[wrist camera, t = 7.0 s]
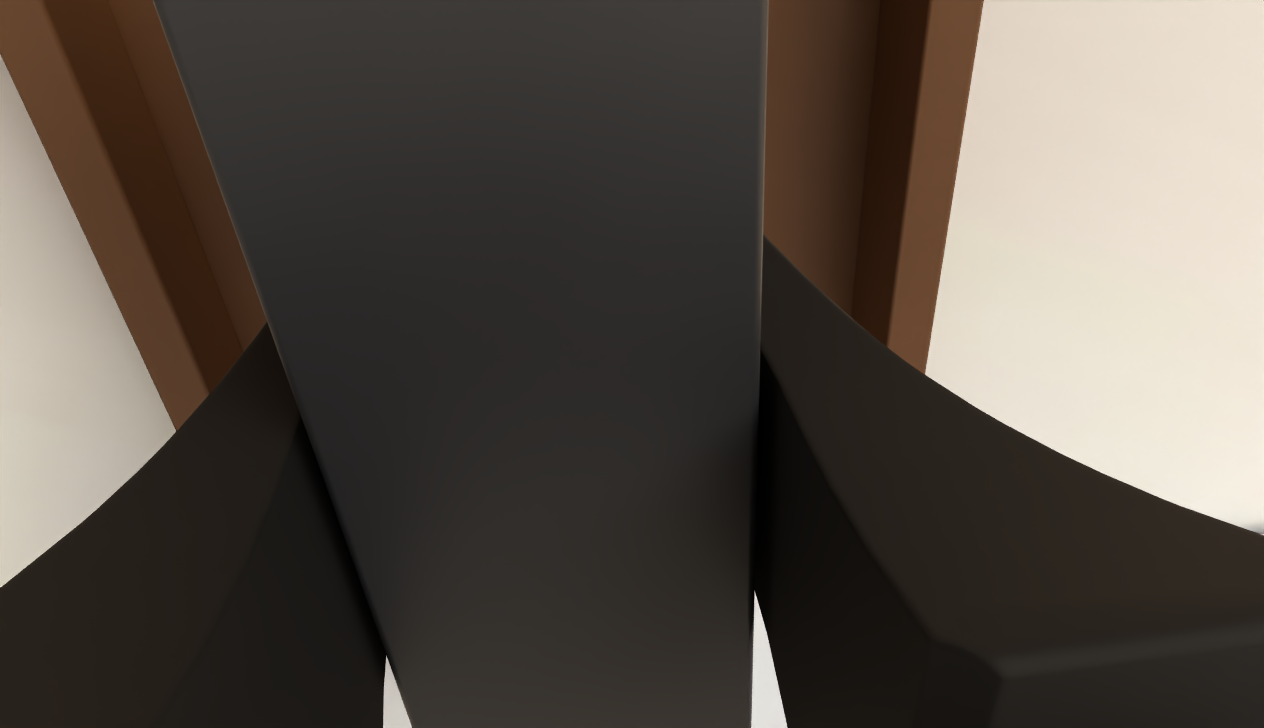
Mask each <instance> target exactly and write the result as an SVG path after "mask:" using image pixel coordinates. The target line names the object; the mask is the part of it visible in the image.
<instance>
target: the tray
mask: <svg viewBox="0 0 1264 728" xmlns="http://www.w3.org/2000/svg"><path fill="white" fill-rule="evenodd" d="M983 1H984V0H769V13H768V54H767V95H766V137H765V178H764V219H763V234H764V235H765V236H766V237H767V238H768V239H769V240H770V241H771V242H772V243H773V244H774V245H775V246H776V247H777V248H778V249H779V250H780V251H781V252H782V253H783V254H784V255H785V256H786V257H787V258H788V259H789V260H790V261H791V262H792V263H793V264H794V265H795V266H796V267H797V268H798V269H799V270H800V271H801V272H802V273H803V274H804V275H805V276H806V277H807V278H808V279H809V280H810V281H811V282H812V283H813V284H814V285H816V286H817V287H818V288H819V289H820V290H821V291H822V292H823V293H824V294H825V295H826V296H828V297H829V298H830V299H831V300H832V301H833V302H834V303H835V304H837V305H838V306H839V307H840V308H841V309H842V310H843V311H844V312H845V313H847V314H848V315H849V316H850V317H851V318H852V319H853V320H855V321H856V322H857V323H858V324H859V325H861V326H862V327H863V328H864V329H865V330H866V331H868V332H869V333H870V334H871V335H872V336H874V337H875V338H876V339H878V340H879V341H880V342H881V343H883V344H884V345H885V346H886V347H888V348H889V349H890V350H892V351H893V352H894V353H895V354H897V355H898V356H899V357H901V358H902V359H903V360H905V361H906V362H907V363H909V364H910V365H912V366H913V367H915V368H916V369H917V370H919V371H920V372H922V373H923V374H925V370H926V364H927V357H928V351H929V345H930V338H931V332H932V326H933V319H934V313H935V306H936V300H937V294H938V287H939V281H940V275H941V268H942V262H943V256H944V249H945V243H946V236H947V230H948V224H949V217H950V211H951V205H952V198H953V192H954V186H955V179H956V173H957V167H958V160H959V154H960V147H961V141H962V135H963V128H964V122H965V116H966V109H967V103H968V97H969V90H970V84H971V77H972V71H973V65H974V58H975V52H976V46H977V39H978V33H979V27H980V20H981V14H982V7H983ZM0 54H1V56H2V58H3V60H4V62H5V65H6V67H7V69H8V71H9V73H10V75H11V77H12V80H13V82H14V84H15V86H16V88H17V90H18V92H19V95H20V97H21V99H22V101H23V103H24V105H25V107H26V110H27V112H28V114H29V116H30V118H31V120H32V122H33V125H34V127H35V129H36V131H37V133H38V135H39V137H40V140H41V142H42V144H43V146H44V148H45V150H46V152H47V155H48V157H49V159H50V161H51V163H52V165H53V168H54V170H55V172H56V174H57V176H58V178H59V180H60V183H61V185H62V187H63V189H64V191H65V193H66V195H67V198H68V200H69V202H70V204H71V206H72V208H73V210H74V213H75V215H76V217H77V219H78V221H79V223H80V225H81V228H82V230H83V232H84V234H85V236H86V238H87V240H88V243H89V245H90V247H91V249H92V251H93V253H94V255H95V258H96V260H97V262H98V264H99V266H100V268H101V270H102V273H103V275H104V277H105V279H106V281H107V283H108V285H109V288H110V290H111V292H112V294H113V296H114V298H115V300H116V303H117V305H118V307H119V309H120V311H121V313H122V315H123V318H124V320H125V322H126V324H127V326H128V328H129V330H130V333H131V335H132V337H133V339H134V341H135V343H136V346H137V348H138V350H139V352H140V354H141V356H142V358H143V361H144V363H145V365H146V367H147V369H148V371H149V373H150V376H151V378H152V380H153V382H154V384H155V386H156V388H157V391H158V393H159V395H160V397H161V399H162V401H163V403H164V406H165V408H166V410H167V412H168V414H169V416H170V418H171V421H172V423H173V425H174V427H175V429H176V431H177V430H178V429H179V428H180V427H181V426H182V425H183V424H184V422H185V421H186V420H187V419H188V418H189V417H190V416H191V414H192V413H193V412H194V411H195V410H196V409H197V408H198V407H199V405H200V404H201V403H202V402H203V401H204V400H205V399H206V397H207V396H208V395H209V394H210V393H211V392H212V391H213V390H214V388H215V387H216V386H217V385H218V383H219V382H220V381H221V380H222V378H223V377H224V376H225V375H226V373H227V372H228V371H229V370H230V368H231V367H232V366H233V365H234V363H235V362H236V361H237V360H238V358H239V357H240V356H241V354H242V353H243V352H244V351H245V349H246V348H247V347H248V346H249V344H250V343H251V342H252V341H253V339H254V338H255V337H256V335H257V334H258V333H259V331H260V330H261V329H262V327H263V326H264V325H265V323H266V322H267V319H266V316H265V313H264V311H263V308H262V305H261V302H260V299H259V297H258V294H257V291H256V288H255V285H254V283H253V280H252V277H251V274H250V271H249V269H248V266H247V263H246V260H245V257H244V255H243V252H242V249H241V246H240V243H239V241H238V238H237V235H236V232H235V229H234V227H233V224H232V221H231V218H230V215H229V213H228V210H227V207H226V204H225V201H224V199H223V196H222V193H221V190H220V187H219V185H218V182H217V179H216V176H215V173H214V171H213V168H212V165H211V162H210V159H209V156H208V154H207V151H206V148H205V145H204V142H203V140H202V137H201V134H200V131H199V128H198V126H197V123H196V120H195V117H194V114H193V112H192V109H191V106H190V103H189V100H188V98H187V95H186V92H185V89H184V86H183V84H182V81H181V78H180V75H179V72H178V70H177V67H176V64H175V61H174V58H173V56H172V53H171V50H170V47H169V44H168V42H167V39H166V36H165V33H164V30H163V28H162V25H161V22H160V19H159V16H158V14H157V11H156V8H155V5H154V2H153V0H0Z"/></svg>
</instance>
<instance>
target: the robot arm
mask: <svg viewBox="0 0 1264 728" xmlns="http://www.w3.org/2000/svg"><path fill="white" fill-rule="evenodd" d="M755 593H756V596H757V599H758V603H759V607H760V610H761V614H762V617H763V621H764V624H765V628H766V631H767V635H768V640H769V644H770V649H771V653H772V658H773V662H774V667H775V672H776V676H777V681H778V685H779V690H780V695H781V699H782V704H783V708H784V713H785V718H786V722H787V727H788V728H1264V533H1262V534H1258V533H1255V532H1252V531H1249V530H1247V529H1244V528H1241V527H1238V526H1235V525H1232V524H1230V523H1227V522H1224V521H1221V520H1218V519H1215V518H1213V517H1210V516H1207V515H1204V514H1201V513H1198V512H1196V511H1193V510H1190V509H1187V508H1184V507H1181V506H1179V505H1176V504H1174V503H1171V502H1169V501H1166V500H1164V499H1161V498H1159V497H1156V496H1154V495H1152V494H1149V493H1147V492H1145V491H1142V490H1140V489H1138V488H1135V487H1133V486H1131V485H1128V484H1126V483H1124V482H1121V481H1119V480H1117V479H1114V478H1112V477H1110V476H1107V475H1105V474H1103V473H1100V472H1098V471H1096V470H1094V469H1092V468H1090V467H1088V466H1086V465H1083V464H1081V463H1079V462H1077V461H1075V460H1073V459H1071V458H1069V457H1066V456H1064V455H1062V454H1060V453H1058V452H1056V451H1054V450H1053V449H1051V448H1049V447H1047V446H1045V445H1043V444H1041V443H1039V442H1037V441H1036V440H1034V439H1032V438H1030V437H1028V436H1026V435H1024V434H1022V433H1020V432H1018V431H1017V430H1015V429H1013V428H1011V427H1009V426H1007V425H1005V424H1003V423H1002V422H1000V421H998V420H997V419H995V418H993V417H991V416H990V415H988V414H986V413H984V412H983V411H981V410H979V409H978V408H976V407H974V406H973V405H971V404H969V403H968V402H966V401H965V400H963V399H962V398H960V397H959V396H957V395H955V394H954V393H952V392H951V391H949V390H948V389H946V388H945V387H943V386H941V385H940V384H938V383H937V382H935V381H934V380H932V379H931V378H929V377H927V376H926V375H925V374H923V373H922V372H920V371H919V370H917V369H916V368H915V367H913V366H912V365H910V364H909V363H907V362H906V361H905V360H903V359H902V358H901V357H899V356H898V355H897V354H895V353H894V352H893V351H892V350H890V349H889V348H888V347H886V346H885V345H884V344H883V343H881V342H880V341H879V340H878V339H876V338H875V337H874V336H872V335H871V334H870V333H869V332H868V331H866V330H865V329H864V328H863V327H862V326H861V325H859V324H858V323H857V322H856V321H855V320H853V319H852V318H851V317H850V316H849V315H848V314H847V313H845V312H844V311H843V310H842V309H841V308H840V307H839V306H838V305H837V304H835V303H834V302H833V301H832V300H831V299H830V298H829V297H828V296H826V295H825V294H824V293H823V292H822V291H821V290H820V289H819V288H818V287H817V286H816V285H814V284H813V283H812V282H811V281H810V280H809V279H808V278H807V277H806V276H805V275H804V274H803V273H802V272H801V271H800V270H799V269H798V268H797V267H796V266H795V265H794V264H793V263H792V262H791V261H790V260H789V259H788V258H787V257H786V256H785V255H784V254H783V253H782V252H781V251H780V250H779V249H778V248H777V247H776V246H775V245H774V244H773V243H772V242H771V241H770V240H769V239H768V238H767V237H766V236H765V235H764V234H763V260H762V301H761V343H760V384H759V425H758V466H757V508H756V549H755ZM385 664H386V652H385V650H384V647H383V644H382V641H381V638H380V636H379V633H378V630H377V627H376V624H375V622H374V619H373V616H372V613H371V610H370V608H369V605H368V602H367V599H366V596H365V594H364V591H363V588H362V585H361V582H360V580H359V577H358V574H357V571H356V568H355V566H354V563H353V560H352V557H351V554H350V552H349V549H348V546H347V543H346V540H345V538H344V535H343V532H342V529H341V526H340V524H339V521H338V518H337V515H336V512H335V510H334V507H333V504H332V501H331V498H330V496H329V493H328V490H327V487H326V484H325V482H324V479H323V476H322V473H321V470H320V467H319V465H318V462H317V459H316V456H315V453H314V451H313V448H312V445H311V442H310V439H309V437H308V434H307V431H306V428H305V425H304V423H303V420H302V417H301V414H300V411H299V409H298V406H297V403H296V400H295V397H294V395H293V392H292V389H291V386H290V383H289V381H288V378H287V375H286V372H285V369H284V367H283V364H282V361H281V358H280V355H279V353H278V350H277V347H276V344H275V341H274V339H273V336H272V333H271V330H270V327H269V325H268V322H266V323H265V325H264V326H263V327H262V329H261V330H260V331H259V333H258V334H257V335H256V337H255V338H254V339H253V341H252V342H251V343H250V344H249V346H248V347H247V348H246V349H245V351H244V352H243V353H242V354H241V356H240V357H239V358H238V360H237V361H236V362H235V363H234V365H233V366H232V367H231V368H230V370H229V371H228V372H227V373H226V375H225V376H224V377H223V378H222V380H221V381H220V382H219V383H218V385H217V386H216V387H215V388H214V390H213V391H212V392H211V393H210V394H209V395H208V396H207V397H206V399H205V400H204V401H203V402H202V403H201V404H200V405H199V407H198V408H197V409H196V410H195V411H194V412H193V413H192V414H191V416H190V417H189V418H188V419H187V420H186V421H185V422H184V424H183V425H182V426H181V427H180V428H179V429H178V430H177V431H176V433H175V434H174V435H173V436H172V437H171V438H170V439H169V440H168V441H167V442H166V443H165V444H164V446H163V447H162V448H161V449H160V450H159V451H158V452H157V453H156V454H155V455H154V456H153V457H152V458H151V459H150V460H149V461H148V462H147V463H146V464H145V465H144V466H143V467H142V468H141V469H140V470H139V471H138V472H137V473H136V474H135V475H134V476H132V477H131V478H130V479H129V480H128V481H127V482H126V483H125V484H124V485H123V486H122V487H121V488H120V489H118V490H117V491H116V492H115V493H114V494H113V495H112V496H111V497H110V498H109V499H108V500H107V501H105V502H104V503H103V504H102V505H101V506H100V507H99V508H98V509H97V510H96V511H94V512H93V513H92V514H91V515H90V516H89V517H88V518H86V519H85V520H84V521H83V522H82V523H81V524H79V525H78V526H77V527H76V528H74V529H73V530H72V531H71V532H69V533H68V534H67V535H66V536H64V537H63V538H62V539H61V540H59V541H58V542H57V543H56V544H54V545H53V546H52V547H51V548H49V549H48V550H47V551H46V552H45V553H43V554H42V555H41V556H40V557H38V558H37V559H36V560H35V561H33V562H32V563H31V564H30V565H28V566H27V567H26V568H25V569H23V570H22V571H21V572H20V573H18V574H17V575H16V576H15V577H13V578H12V579H11V580H10V581H8V582H7V583H6V584H5V585H3V586H2V587H1V588H0V728H383V696H384V677H385Z"/></svg>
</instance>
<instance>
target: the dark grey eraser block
mask: <svg viewBox="0 0 1264 728" xmlns="http://www.w3.org/2000/svg"><path fill="white" fill-rule="evenodd" d="M153 2H154V5H155V8H156V11H157V14H158V16H159V19H160V22H161V25H162V28H163V30H164V33H165V36H166V39H167V42H168V44H169V47H170V50H171V53H172V56H173V58H174V61H175V64H176V67H177V70H178V72H179V75H180V78H181V81H182V84H183V86H184V89H185V92H186V95H187V98H188V100H189V103H190V106H191V109H192V112H193V114H194V117H195V120H196V123H197V126H198V128H199V131H200V134H201V137H202V140H203V142H204V145H205V148H206V151H207V154H208V156H209V159H210V162H211V165H212V168H213V171H214V173H215V176H216V179H217V182H218V185H219V187H220V190H221V193H222V196H223V199H224V201H225V204H226V207H227V210H228V213H229V215H230V218H231V221H232V224H233V227H234V229H235V232H236V235H237V238H238V241H239V243H240V246H241V249H242V252H243V255H244V257H245V260H246V263H247V266H248V269H249V271H250V274H251V277H252V280H253V283H254V285H255V288H256V291H257V294H258V297H259V299H260V302H261V305H262V308H263V311H264V313H265V316H266V319H267V322H268V325H269V327H270V330H271V333H272V336H273V339H274V341H275V344H276V347H277V350H278V353H279V355H280V358H281V361H282V364H283V367H284V369H285V372H286V375H287V378H288V381H289V383H290V386H291V389H292V392H293V395H294V397H295V400H296V403H297V406H298V409H299V411H300V414H301V417H302V420H303V423H304V425H305V428H306V431H307V434H308V437H309V439H310V442H311V445H312V448H313V451H314V453H315V456H316V459H317V462H318V465H319V467H320V470H321V473H322V476H323V479H324V482H325V484H326V487H327V490H328V493H329V496H330V498H331V501H332V504H333V507H334V510H335V512H336V515H337V518H338V521H339V524H340V526H341V529H342V532H343V535H344V538H345V540H346V543H347V546H348V549H349V552H350V554H351V557H352V560H353V563H354V566H355V568H356V571H357V574H358V577H359V580H360V582H361V585H362V588H363V591H364V594H365V596H366V599H367V602H368V605H369V608H370V610H371V613H372V616H373V619H374V622H375V624H376V627H377V630H378V633H379V636H380V638H381V641H382V644H383V647H384V650H385V652H386V655H387V658H388V661H389V664H390V666H391V669H392V672H393V675H394V678H395V680H396V683H397V686H398V689H399V692H400V694H401V697H402V700H403V703H404V706H405V708H406V711H407V714H408V717H409V720H410V722H411V725H412V728H751V714H752V672H753V631H754V590H755V549H756V508H757V466H758V425H759V384H760V343H761V301H762V260H763V219H764V178H765V137H766V95H767V54H768V13H769V0H153Z"/></svg>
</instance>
